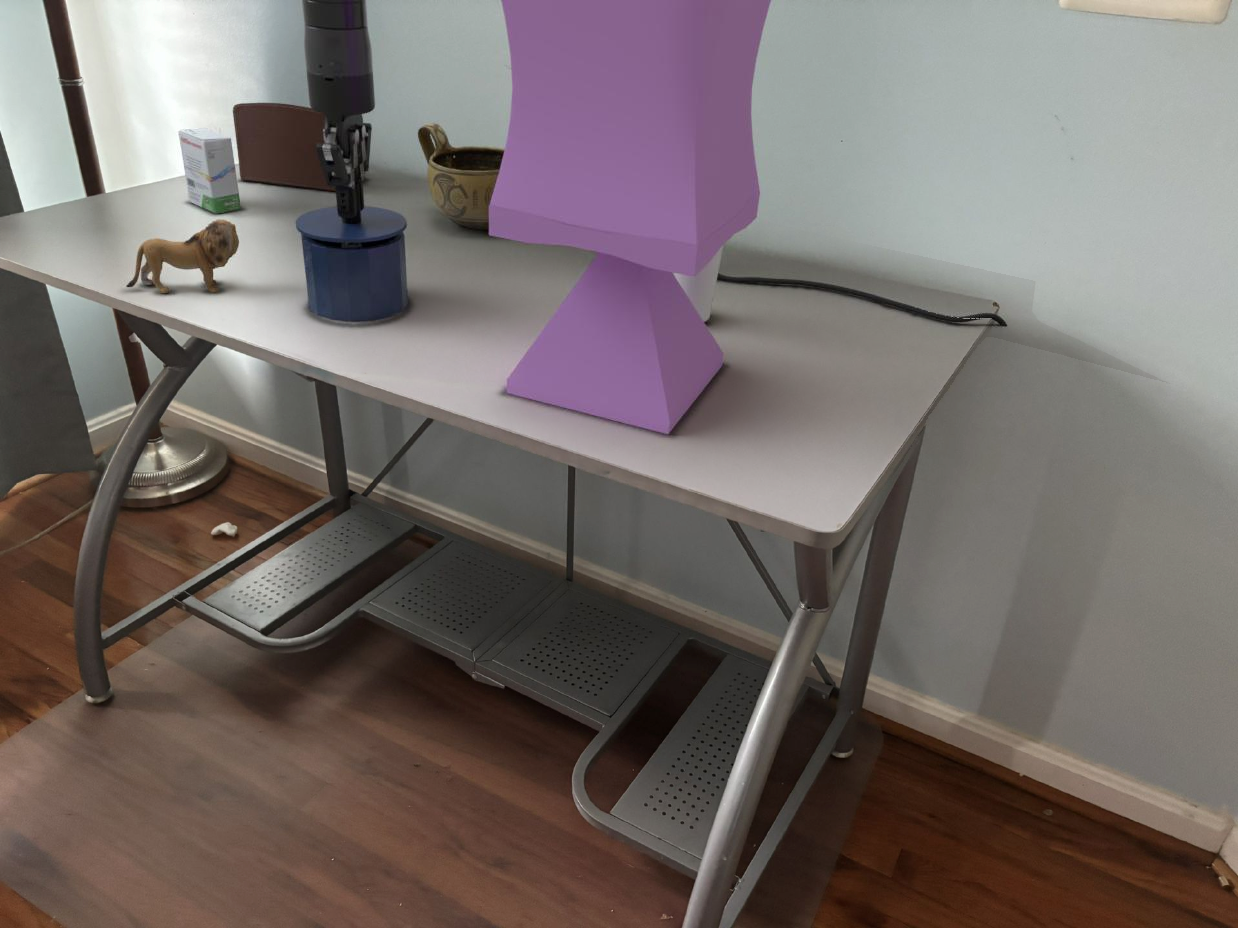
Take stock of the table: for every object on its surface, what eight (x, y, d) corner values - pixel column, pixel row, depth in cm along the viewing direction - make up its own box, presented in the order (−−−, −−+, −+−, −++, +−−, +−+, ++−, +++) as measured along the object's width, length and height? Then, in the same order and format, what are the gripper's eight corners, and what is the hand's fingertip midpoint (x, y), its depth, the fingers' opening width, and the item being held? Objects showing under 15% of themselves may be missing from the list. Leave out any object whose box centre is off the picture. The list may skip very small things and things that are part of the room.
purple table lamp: (573, 326, 126) (589, -62, 103) (736, 363, 120) (793, -43, 96) (489, 395, 108) (486, -57, 85) (675, 443, 102) (728, -33, 78)
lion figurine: (244, 277, 134) (235, 213, 129) (246, 291, 129) (236, 225, 125) (128, 284, 129) (114, 218, 124) (125, 299, 125) (111, 231, 120)
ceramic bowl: (563, 223, 163) (566, 133, 156) (512, 251, 150) (513, 153, 142) (452, 200, 171) (449, 112, 163) (394, 224, 157) (388, 130, 150)
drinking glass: (681, 330, 128) (693, 219, 120) (656, 311, 133) (666, 204, 125) (724, 323, 131) (738, 215, 123) (698, 305, 136) (710, 200, 128)
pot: (418, 294, 133) (415, 223, 127) (391, 329, 122) (387, 253, 117) (328, 285, 133) (321, 214, 128) (294, 320, 122) (285, 244, 117)
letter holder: (345, 193, 170) (338, 110, 163) (239, 181, 172) (228, 99, 165) (366, 179, 179) (361, 100, 171) (266, 168, 181) (256, 89, 174)
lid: (419, 219, 128) (417, 174, 125) (389, 252, 116) (386, 203, 113) (319, 209, 128) (314, 165, 125) (279, 241, 117) (273, 193, 114)
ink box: (242, 209, 159) (232, 136, 153) (214, 215, 156) (203, 140, 150) (216, 197, 164) (205, 126, 158) (188, 202, 160) (176, 129, 154)
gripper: (328, 55, 118) (340, 196, 127) (285, 74, 106) (301, 227, 115) (388, 61, 118) (396, 201, 127) (351, 80, 106) (363, 233, 115)
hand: (351, 213), depth 121 cm, fingers closed on lid, 2 cm apart
